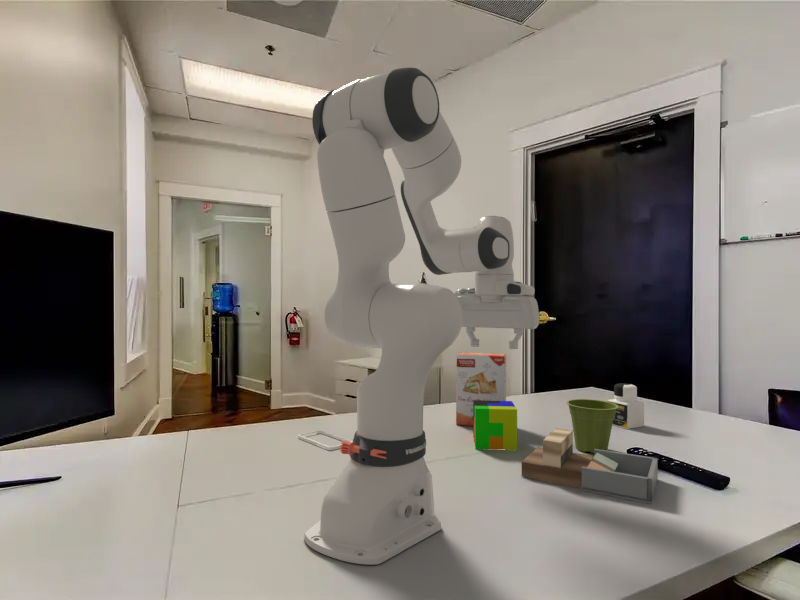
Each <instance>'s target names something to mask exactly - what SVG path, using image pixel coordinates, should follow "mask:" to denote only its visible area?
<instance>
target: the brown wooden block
mask: <svg viewBox="0 0 800 600" xmlns="http://www.w3.org/2000/svg"><path fill="white" fill-rule="evenodd" d="M593 457H594V455H590V454H589V455H588V454H584V453H578V452H577V453H576V452H573V453H572V455H571V456H570V457H569V458H568V460H567V461H566V462H565V463H564V465H563V466H562V467H561V468H558V467H552V466H546V465H543V447H539V446H537V447H536V448H535V449H534V450H533V451H532V452H531V453H529V454H528V455H527V456H526V457H525V458H524V459H523V460H522V461H521V477H522V476H524V477H523V478H527V477H528V479H532V478H534V479H533V480H537V479H538V481H544V482H548V483H552V484H553V483H554V484H558V485H564V486H569V487H573V488H574V487H575V488H579V489H582V466H583V467H588V465H589V464H590V462H591V461H592V459H593Z"/></svg>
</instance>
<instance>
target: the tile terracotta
mask: <svg viewBox="0 0 800 600" xmlns="http://www.w3.org/2000/svg"><path fill="white" fill-rule="evenodd" d="M588 467H589V468H595V469H601V470H606V471H610V470H608V469H606V468H604V467H602V466H601V465H599V464H597V463H595V462H593V461H591V462H590V464H589V465H588Z"/></svg>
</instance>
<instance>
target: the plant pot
mask: <svg viewBox="0 0 800 600" xmlns="http://www.w3.org/2000/svg"><path fill="white" fill-rule="evenodd" d="M566 404H567V405H568V409H569V414H570V418H571V424H572V429H573V438H574V444H575V449H577V450H579V451H580V452H583V453H584V452H585V453H588V452H590V453H591V454H594V449H600V450H607V451H608V450H609V443H610V439H611V433H612V430H613V429H612V427H613V425H612V423H613V418H614V417H615V413H616V409H618V408H619V406H618V405H616V404H614V403H611V402H607V401H605V400H600V399H592V398H591V399H590V398H587V399H586V398H577V399H576V398H574V399H573V398H572V399H568V400H567V401H566Z"/></svg>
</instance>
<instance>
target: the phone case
mask: <svg viewBox="0 0 800 600" xmlns="http://www.w3.org/2000/svg"><path fill="white" fill-rule="evenodd" d="M313 433H316V435H324V436H327V437H329V438H333V439H335V440H337V441H341V442H343V441H348V442H350V443H351V442H353V440H351V439H347V438H345V437H341V436H339V435H335V434H334V433H330V432H327V431H325V430H319V429H318V430H315V431H314V430H313V431H310V432H305V433H300V434H298V435H297V438H298V439H299V440H301V441H304V442H306V443H309V444H311V445H314V446H317V445H318V446H321V447H323V448H325V450H326V451H336V450H338V449H339V450H340V448H341V447H340V445H342V444H341V443H340V444H337V445H332V446H329V445H327V444H325V443H321V442H318V441H316V440H314V439H311V438H308V437H305V435H309V434H313Z"/></svg>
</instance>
